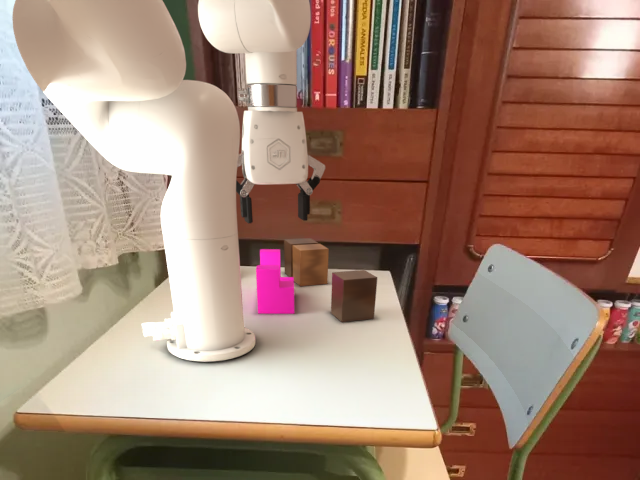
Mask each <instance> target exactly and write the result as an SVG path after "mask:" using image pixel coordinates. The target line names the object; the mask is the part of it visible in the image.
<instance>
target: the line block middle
mask: <svg viewBox="0 0 640 480" xmlns="http://www.w3.org/2000/svg"><path fill="white" fill-rule="evenodd" d="M293 277H294V283H296V284H297V285H298V286H299V287H307V286H318V285H320V286H321V285H328V281H329V248H328V247H326V246H325V245H323V244H321V243H318V244H306V245H293Z"/></svg>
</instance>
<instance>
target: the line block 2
mask: <svg viewBox="0 0 640 480" xmlns="http://www.w3.org/2000/svg"><path fill="white" fill-rule="evenodd" d="M377 285H378V276H375V275H374V274H372V273H370V272H369V271H367V270H366V269H358V270H344V271H343V270H342V271H333V272H331V295H330V297H331V299H330V313H331V315H333V316H334V317H335V318H336V319H337V320H338V321H340V323H347V322H357V321H366V320H375V310H376V309H375V308H376V301H377V300H376V299H377V298H376V297H377Z"/></svg>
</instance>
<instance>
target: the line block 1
mask: <svg viewBox="0 0 640 480" xmlns="http://www.w3.org/2000/svg"><path fill="white" fill-rule="evenodd" d="M306 244H319V242H318V241H316V240H315V239H313V238H311V237H305V238H285V239H283V254H284V255H283V256H284V257H283V259H284V260H283V261H284V262H283V263H284V264H283V265H284V273H285V275H287V277H293V245H306Z"/></svg>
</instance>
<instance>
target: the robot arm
mask: <svg viewBox="0 0 640 480" xmlns="http://www.w3.org/2000/svg"><path fill="white" fill-rule="evenodd" d="M197 16H198V21H199V26H200V28H201V30H202V33H203V35H204V37H205V39H206V40H207V42H209V44H210V45H211V46H212V47H214V48H215V49H216V50H218V51H219V52H222V53H225V54H244V60H245V61H244V62H245V78H246V80H245V81H246V85H245V87H244V88H243V89H237V100H238V101H239V102H243V103H245V104H246V107H247V110H244V111H243V115H242V127H241V125H240V119H239V115H238V111H237V108H236V105H234V102H233V101H232V99H231V98H230V96H228V94H227V93H226V92H225V91H224V90H222V89H220V88H219V87H218V86H216V85H214V84H211V83H209V82H205V81H202V80H193V79H184V78H185V75H186V71H187V60H186V51H185V47H184V44H183V40H182V38H181V35H180V32H179V30H178V28H177V26H176V24H175V22H174V20H173V18H172V16H171V14H170V12H169V10H168V7H167V6H166V4H165V2H164V1H163V0H15V1H14V5H13V9H12V16H11V17H12V18H11V19H12V20H11V21H12V30H13V35H14V39H15V43H16V47H17V49H18V52H19V54H20V57H21V59H22V61H23V63H24V65H25V67H26V69H27V71H28V73H29V74H30V76H31V77H32V79H33V80H34V82H35V84H36V85H37V86H38V87H39V89H40V90H41V91H42V92H43V94H44V95H45V96H46V97H47V98H48V100H50V102H51V103H52V104H53V105H54V106H55V107H56V108H57V110H59V112H61V113H62V114H63V116H64V117H65V118H66V119H67V120H68V121H69V122H70V123H71V125H73V127H75V128H76V130H77V131H78V132H79V133H80V134H81V135H82V137H84V138H85V139H86V141H87V142H88V143H89V144H90V145H91V146H92V147H93V148H94V149H95V150H96V151H97V152H98V153H99V155H101V156H102V157H103V158H104V159H105V160H106V161H108V162H109V163H110V164H112V165H113V166H114V167H116V168H118V169H119V170H123V171H126V172H132V173H138V174H152V175H153V174H154V175H155V174H156V175H166V176H171V179H170V181H169V185H168V188H167V189H166V192H165V195H164V197H163V199H162V203H161V208H160V225H161V232H162V239H163V245H164V253H165V259H166V265H167V266H166V267H167V272H168V273H167V274H168V279H169V287H170V295H171V300H172V301H171V302H172V308H173V311H171V312H170V317H169V318H164V321H157V322H155V321H149V322H141V330H142V334H143V337H144V338H147V337H152V340H153V341H163V340H166V346H167V350H168V352H169V353H171V354H172V355H173V356H175V357H177V358H180V359H182V360H185V361H191V362H192V361H193V362H201V363H202V362H205V363H208V362H209V363H210V362H222V361H227V360H232V359H235V358H239V357H241V356H243V355H246V354H248V353H249V352H250V351H251V350H253V349H254V347H255V345H256V335H255V333H254V332H253V330H251V329H249V328H248V327H245V324H244V323H245V321H244V320H245V319H244V306H243V290H242V276H241V275H242V274H241V259H240V244H239V231H238V213H237V195H239V204H240V205H239V207H240V216H241V218H243V219H244V222H246V223H247V224H252V223H253V205H252V203H253V201H252V200H253V199H252V197H250V193H251V191H252V190H253V188H254V186H255V185H294V184H295V185H296V186H297V187H298V189H299V192H298V194H297V218H299V219H300V220H302V221H304V222H305V221H308V215H310V213H311V195H312V194H313V191H314V190H315V189H316V188H317V187H318V185H320V182H321V179H322V177H323V175H324V172H325V170H326V165H325V164H324V163H322V162H321V161H320V160H317V159H316V158H314V157H313V156H311V155H310V154H308V142H307V134H306V133H307V132H306V125H305V119H304V114H303V111H298V77H297V76H298V69H297V66H298V65H297V63H298V59H297V57H298V55H297V53H298V51H297V50H298V49H301V47H302V46H304V44H305V43H306V41H307V39H308V37H309V33H310V30H311V21H312V20H311V19H312V18H311V17H312V16H311V3H310V0H198V3H197ZM241 128H242V129H241ZM240 140H241V143H240ZM240 144H241V153H240ZM240 167H241V171H242V175H243V180H242V181H241V182H239V181H238V180H237V173H238V172H237V171H238V168H240ZM309 167H311V168H312V169H313V172H312V175H311V176H310V178H309V179H308V177H309Z"/></svg>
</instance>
